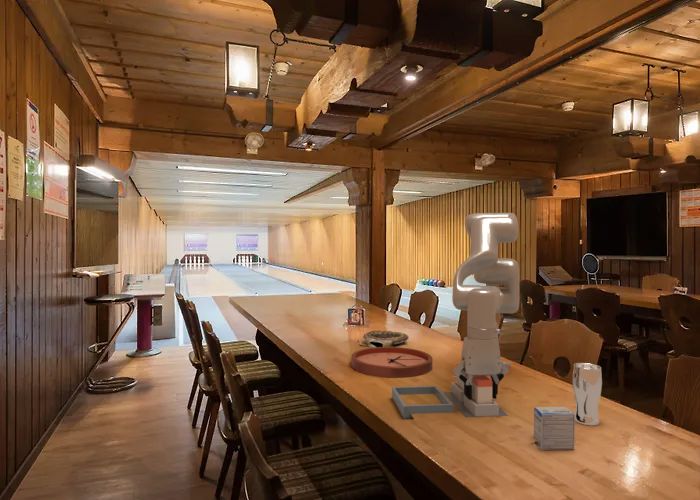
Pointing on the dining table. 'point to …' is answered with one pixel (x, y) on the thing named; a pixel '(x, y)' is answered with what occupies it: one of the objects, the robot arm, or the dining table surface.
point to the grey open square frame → (412, 409)
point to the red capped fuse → (481, 389)
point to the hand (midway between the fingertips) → (480, 397)
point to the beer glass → (587, 392)
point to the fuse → (460, 381)
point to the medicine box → (554, 428)
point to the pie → (384, 338)
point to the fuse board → (472, 404)
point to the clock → (391, 362)
